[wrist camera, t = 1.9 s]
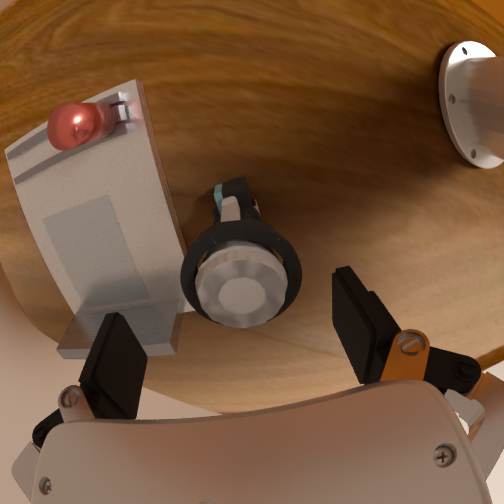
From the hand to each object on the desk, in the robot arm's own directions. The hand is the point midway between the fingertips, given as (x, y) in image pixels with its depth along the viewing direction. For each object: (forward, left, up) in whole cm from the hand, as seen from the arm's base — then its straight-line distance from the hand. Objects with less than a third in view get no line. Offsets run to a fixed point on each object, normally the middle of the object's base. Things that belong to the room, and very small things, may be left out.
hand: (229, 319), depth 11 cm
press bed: (+10, -3, -10) cm, 15 cm away
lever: (+6, -10, -8) cm, 14 cm away
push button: (-1, 0, -10) cm, 10 cm away
